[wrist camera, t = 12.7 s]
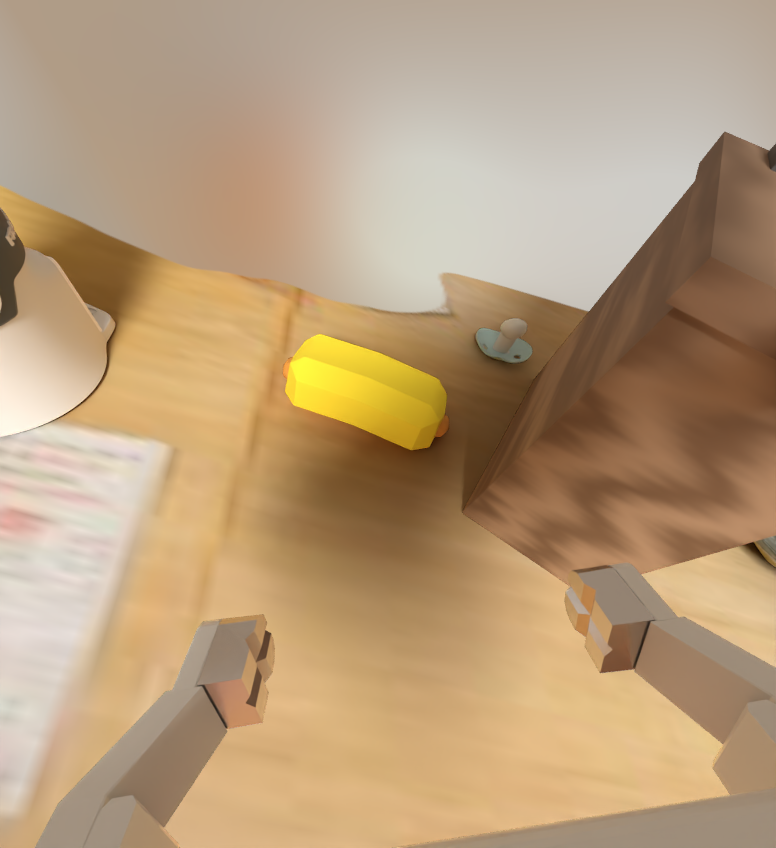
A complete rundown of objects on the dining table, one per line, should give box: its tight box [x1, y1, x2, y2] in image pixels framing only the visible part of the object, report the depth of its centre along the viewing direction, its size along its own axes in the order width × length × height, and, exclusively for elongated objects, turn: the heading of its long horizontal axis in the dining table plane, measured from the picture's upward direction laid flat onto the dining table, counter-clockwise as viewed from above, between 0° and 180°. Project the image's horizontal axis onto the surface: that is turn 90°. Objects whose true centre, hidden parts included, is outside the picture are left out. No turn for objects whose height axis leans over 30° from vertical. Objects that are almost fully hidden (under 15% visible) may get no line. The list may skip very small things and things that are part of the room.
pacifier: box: [475, 318, 533, 364], centre depth 46 cm, size 7×6×6 cm
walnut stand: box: [462, 132, 776, 587], centre depth 28 cm, size 13×23×29 cm, turn 147°
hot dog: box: [283, 334, 449, 450], centre depth 36 cm, size 18×7×8 cm
